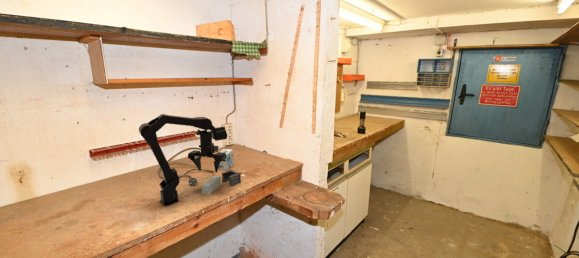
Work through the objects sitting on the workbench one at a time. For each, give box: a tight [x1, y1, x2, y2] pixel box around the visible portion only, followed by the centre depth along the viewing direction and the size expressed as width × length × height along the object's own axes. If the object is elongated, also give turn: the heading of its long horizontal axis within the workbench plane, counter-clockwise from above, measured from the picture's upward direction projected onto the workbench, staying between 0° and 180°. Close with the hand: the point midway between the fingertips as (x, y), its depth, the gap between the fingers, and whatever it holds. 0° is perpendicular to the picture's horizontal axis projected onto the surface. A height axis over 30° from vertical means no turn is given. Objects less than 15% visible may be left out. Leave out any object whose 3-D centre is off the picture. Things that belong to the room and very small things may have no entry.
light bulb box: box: [218, 148, 235, 171], centre depth 165 cm, size 11×7×11 cm, turn 168°
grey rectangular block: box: [201, 175, 222, 195], centre depth 135 cm, size 12×4×5 cm, turn 167°
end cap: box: [221, 169, 242, 187], centre depth 143 cm, size 6×8×6 cm
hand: (208, 171), depth 132 cm, fingers open, 9 cm apart
